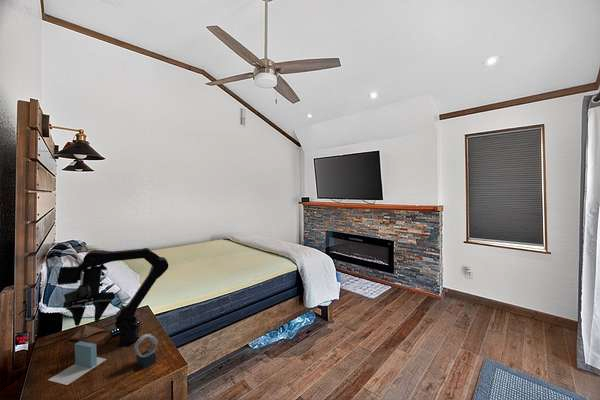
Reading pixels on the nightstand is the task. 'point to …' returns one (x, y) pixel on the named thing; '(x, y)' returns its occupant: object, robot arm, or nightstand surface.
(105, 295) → the robot arm
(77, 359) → the teal tile
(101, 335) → the sunglasses case
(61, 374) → the felt mat
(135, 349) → the watch
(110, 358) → the nightstand surface
